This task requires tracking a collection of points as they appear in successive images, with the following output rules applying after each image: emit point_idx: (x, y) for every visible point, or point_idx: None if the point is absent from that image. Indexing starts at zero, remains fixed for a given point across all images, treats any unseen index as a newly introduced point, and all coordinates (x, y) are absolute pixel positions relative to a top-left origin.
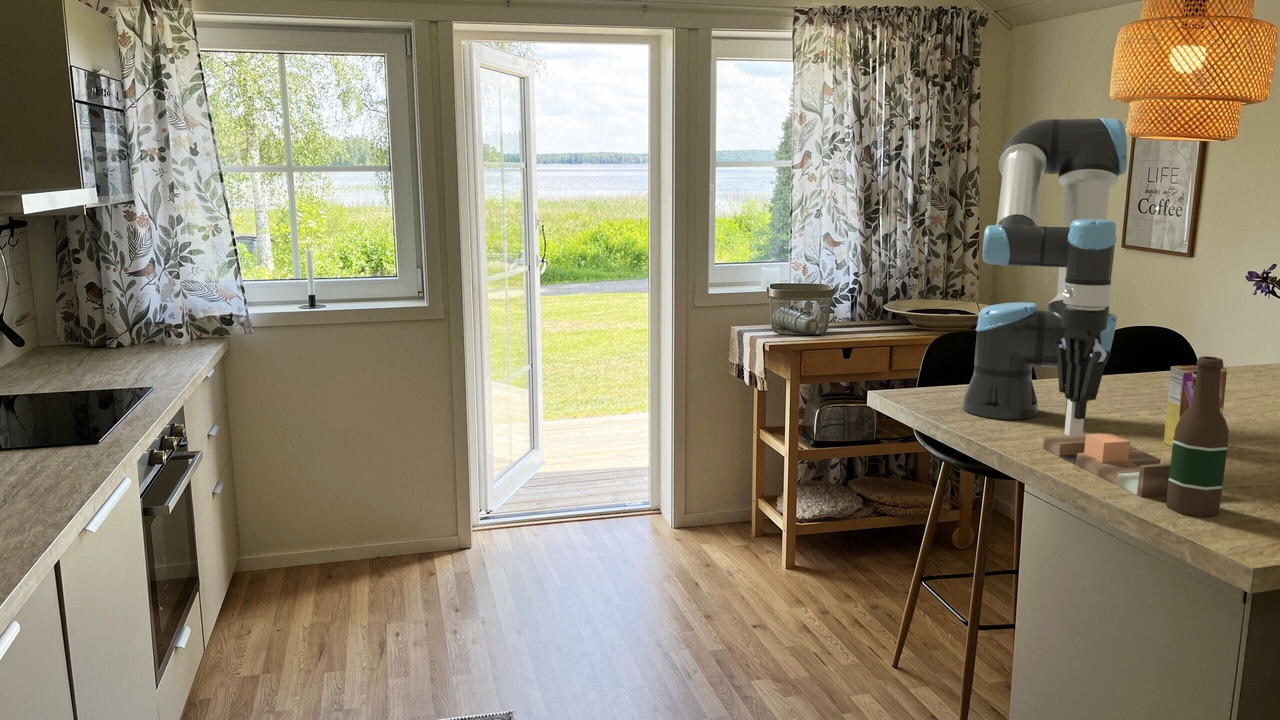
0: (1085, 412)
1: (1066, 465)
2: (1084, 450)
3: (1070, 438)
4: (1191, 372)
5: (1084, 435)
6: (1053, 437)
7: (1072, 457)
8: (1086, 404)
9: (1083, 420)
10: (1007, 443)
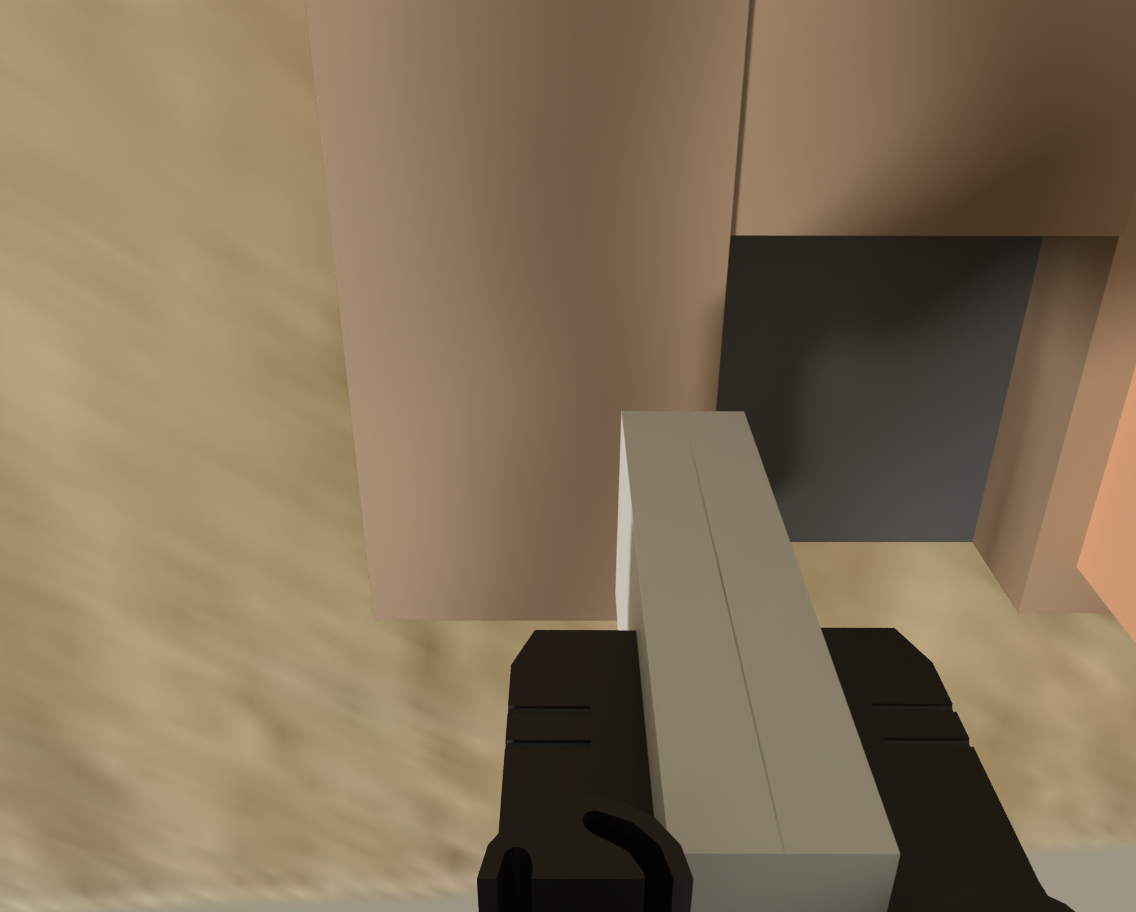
0: (958, 725)
1: (940, 615)
2: (1098, 592)
3: (502, 380)
4: None
5: (384, 85)
6: (429, 550)
7: (778, 456)
8: (1033, 871)
9: (785, 544)
10: (184, 730)
